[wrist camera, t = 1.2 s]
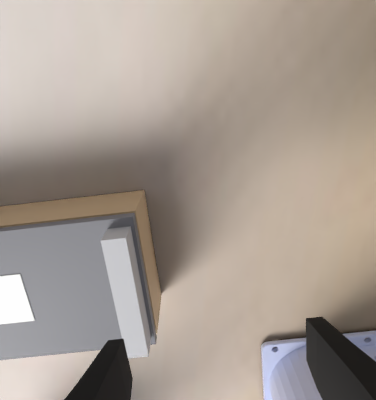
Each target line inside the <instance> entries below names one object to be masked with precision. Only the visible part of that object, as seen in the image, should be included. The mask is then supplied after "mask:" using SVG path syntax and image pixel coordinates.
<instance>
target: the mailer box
mask: <svg viewBox="0 0 376 400" xmlns="http://www.w3.org/2000/svg"><path fill="white" fill-rule="evenodd" d="M127 213H135V218H136V223H137V229H138V235H139V240H140V246H141V252H142V257H143V263H144V268H145V274H146V280H147V285H148V291H149V297H150V302H151V308H152V314H153V319H154V325H155V330H156V333H157V329H158V320H159V311H160V302H161V289H160V283H159V277H158V271H157V264H156V258H155V252H154V246H153V240H152V234H151V228H150V222H149V216H148V209H147V203H146V197H145V191H144V190H140V191H131V192H122V193H113V194H104V195H96V196H87V197H78V198H69V199H61V200H52V201H43V202H34V203H25V204H17V205H8V206H0V228H3V227H12V226H21V225H29V224H38V223H47V222H56V221H65V220H74V219H83V218H92V217H101V216H109V215H118V214H127Z"/></svg>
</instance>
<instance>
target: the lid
mask: <svg viewBox="0 0 376 400" xmlns="http://www.w3.org/2000/svg"><path fill="white" fill-rule="evenodd" d="M156 338H157V336H156V330H155V325H154V319H153V314H152V308H151V302H150V297H149V291H148V285H147V280H146V274H145V268H144V263H143V257H142V252H141V246H140V240H139V235H138V229H137V223H136V218H135V213H127V214H118V215H109V216H101V217H92V218H83V219H74V220H65V221H56V222H47V223H38V224H29V225H21V226H12V227H3V228H0V360H7V359H16V358H26V357H36V356H45V355H55V354H65V353H74V352H84V351H94V350H101V349H102V348H103V346H104V345H105V344H106V342H107V341H108V340H114V339H124V343H125V347H126V352H127V356H128V358H138V357H147V356H149V349H150V345H152V344H156Z"/></svg>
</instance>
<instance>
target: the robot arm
mask: <svg viewBox="0 0 376 400" xmlns="http://www.w3.org/2000/svg"><path fill="white" fill-rule="evenodd" d="M367 337H368V338H367ZM365 338H367V339H365ZM273 347H276V348H273ZM261 358H262V377H263V396H264V400H376V330H375V331H366V332H356V333H346V334H341V333H340V332H339V331H338V330H337V329H336V328H334V327H333V326H332V325H331V324H330V323H329V322H327V321H326V320H325V319H324V318H323V317H316V318H307V319H306V338H297V339H288V340H278V341H268V342H264V343H263V344H262V345H261ZM132 379H133V378H132V374H131V370H130V365H129V361H128V356H127V352H126V347H125V343H124V339H114V340H108V341H107V342H106V344H105V345H104V346H103V348H102V349H101V351H100V352H99V354H98V355H97V357H96V358H95V359H94V361H93V362H92V364H91V365H90V367H89V368H88V369H87V371H86V372H85V373H84V375H83V376H82V377H81V379H80V380H79V382H78V383H77V384H76V386H75V387H74V388H73V390H72V391H71V392H70V393H69V394H68V396H67V397H66V398H65V399H64V400H130V399H131V390H132Z"/></svg>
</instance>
